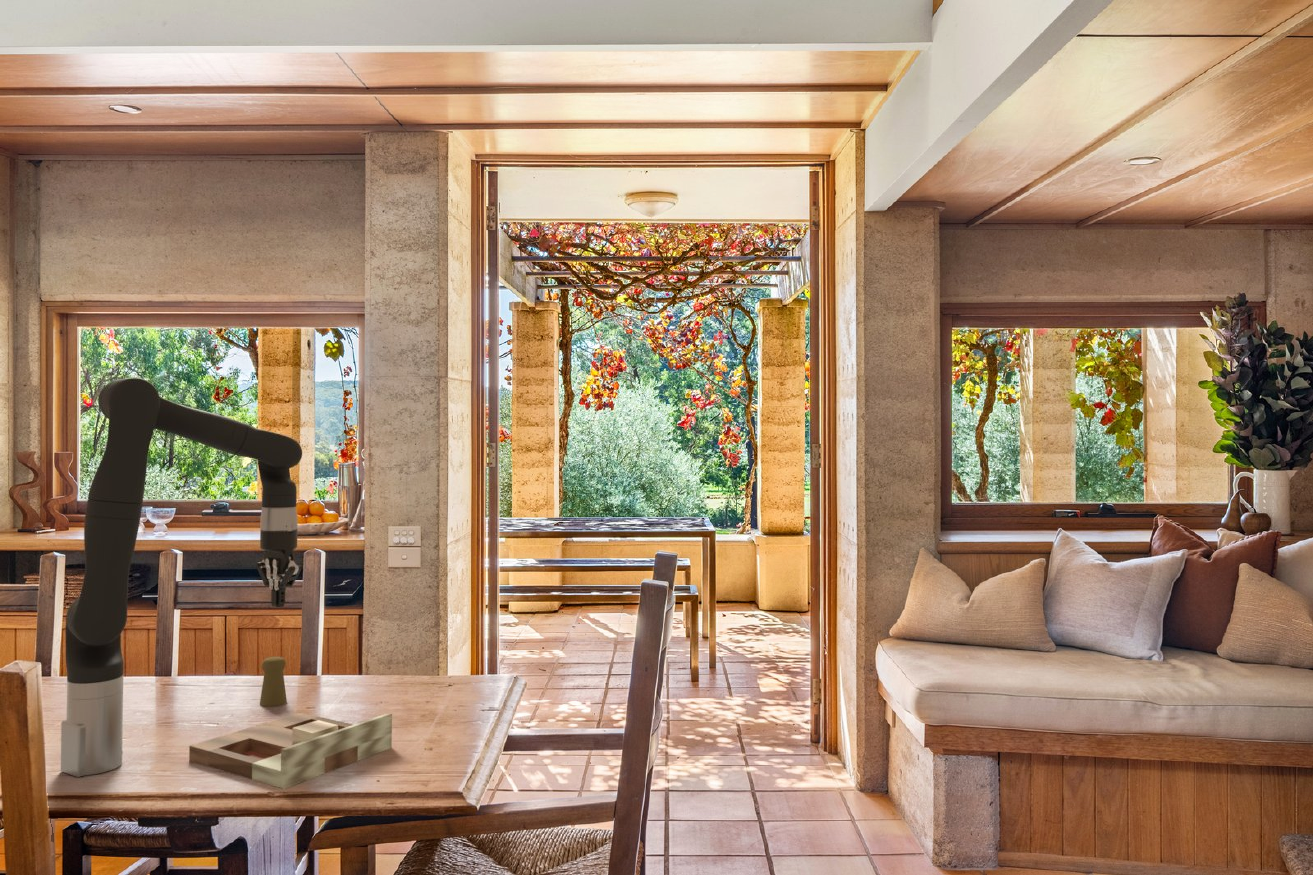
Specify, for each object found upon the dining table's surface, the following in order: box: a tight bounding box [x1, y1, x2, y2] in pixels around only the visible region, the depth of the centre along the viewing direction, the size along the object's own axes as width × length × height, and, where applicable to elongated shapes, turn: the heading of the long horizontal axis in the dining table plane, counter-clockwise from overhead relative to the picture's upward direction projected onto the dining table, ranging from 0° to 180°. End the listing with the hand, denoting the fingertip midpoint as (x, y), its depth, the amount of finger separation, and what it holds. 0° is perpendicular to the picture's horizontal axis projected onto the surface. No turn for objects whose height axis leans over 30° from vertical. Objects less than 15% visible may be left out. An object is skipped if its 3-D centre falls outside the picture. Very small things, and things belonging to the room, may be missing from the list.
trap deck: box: [188, 712, 393, 790], centre depth 182 cm, size 26×28×7 cm
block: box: [292, 720, 338, 745], centre depth 178 cm, size 6×6×4 cm
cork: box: [259, 656, 288, 708], centre depth 218 cm, size 6×6×11 cm
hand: (278, 606), depth 199 cm, fingers closed
